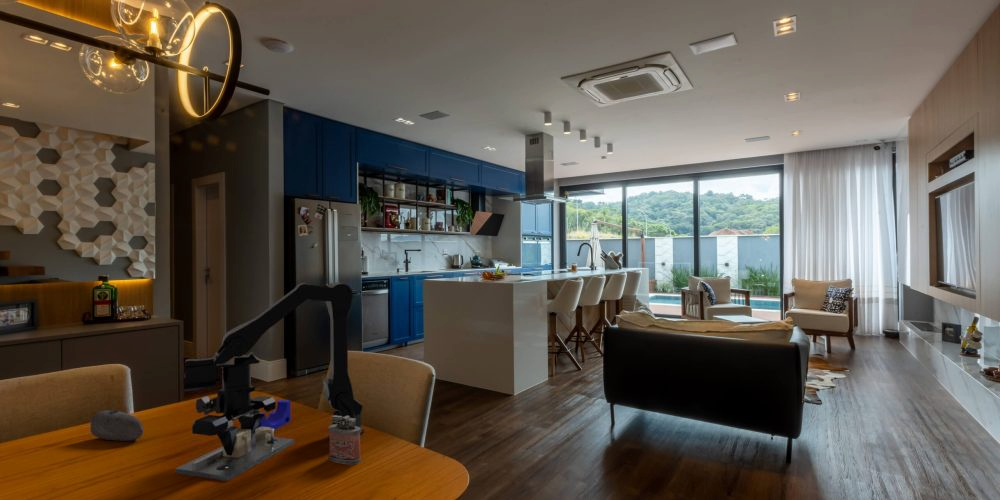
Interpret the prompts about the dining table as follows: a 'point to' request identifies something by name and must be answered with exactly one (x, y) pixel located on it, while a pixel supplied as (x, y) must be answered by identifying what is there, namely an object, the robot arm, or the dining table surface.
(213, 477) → the drilled plate
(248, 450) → the block
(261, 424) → the cable clip
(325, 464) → the dining table surface
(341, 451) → the lighter
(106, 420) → the perforated stone tool
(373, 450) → the dining table surface
